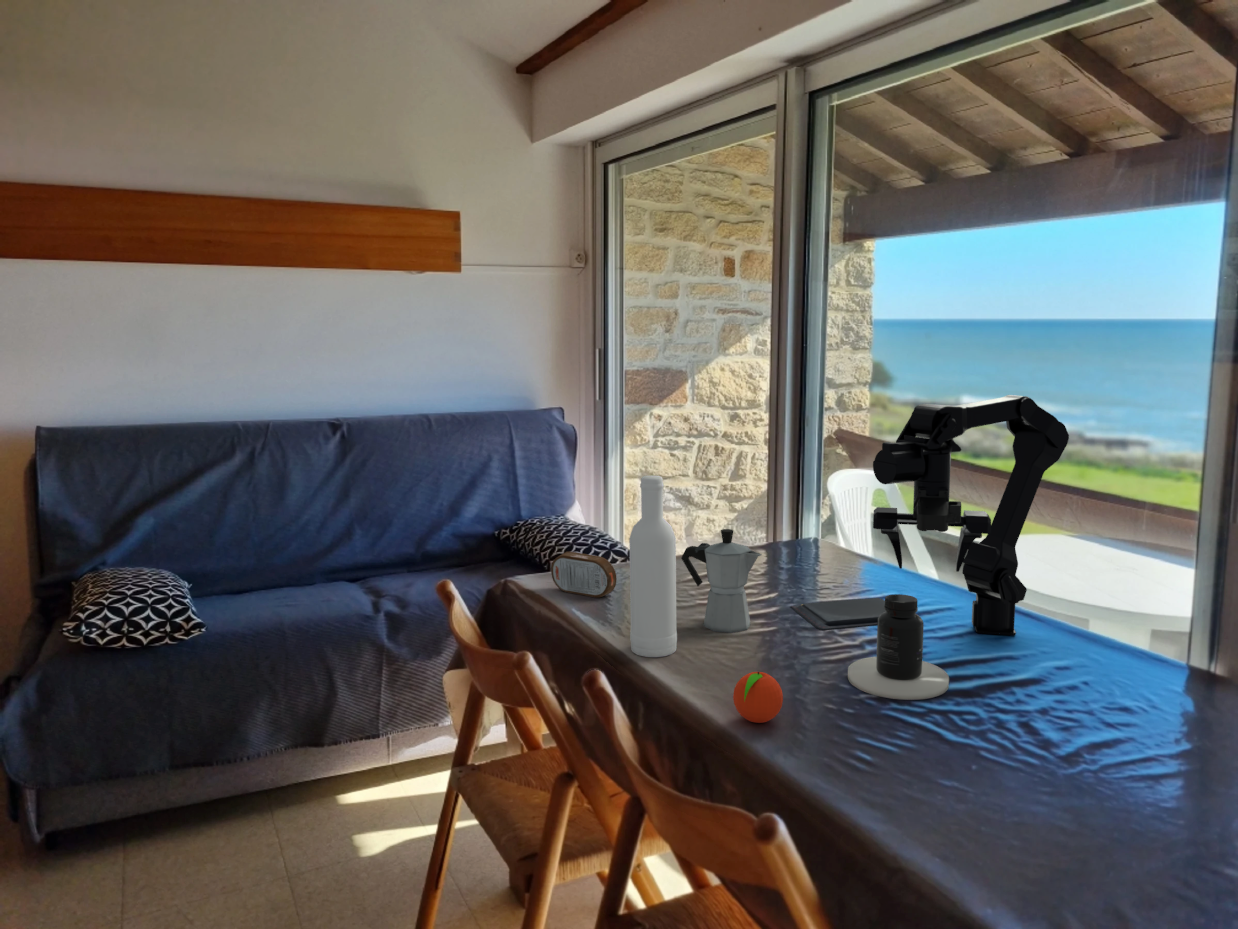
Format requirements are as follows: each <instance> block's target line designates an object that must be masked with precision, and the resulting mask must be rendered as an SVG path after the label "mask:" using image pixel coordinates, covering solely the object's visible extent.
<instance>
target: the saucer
mask: <svg viewBox="0 0 1238 929" xmlns="http://www.w3.org/2000/svg"><path fill="white" fill-rule="evenodd" d="M876 657H877V656H870V657H869V656H868V657H866V658H861V659H858V660H856V661H854V662H852V663H851V664H849V666H848V667H847V679H848V681H849V683H850V684H851V685H852V687H855V688H856V689H858V690H859V691H861V692H865V693H867V694H869V695H872V696H876V697H881V698H887V699H892V700H902V701H903V700H905V701H913V700H914V701H915V700H927V699H932V698H935V697H939V696H941V695H943V694H945V693H946V692H947V691H948V689H949V687H950V686H949V685H950V684H949V683H950V677H949V674H948V673H947V672H946V671H945V669H943V668H941V667H939V666H937V665H935V664H933V663H930V662H928V661H924V660H922V673H921V675H920V676H919V677H918V678H916V679H912V680H896V679H890V678H887V677H884V676H882V675H880V674H879V673H878V671H877V669H876Z"/></svg>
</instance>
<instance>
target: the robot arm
mask: <svg viewBox="0 0 1238 929" xmlns="http://www.w3.org/2000/svg"><path fill="white" fill-rule="evenodd" d="M1004 422H1006V423H1005V424H1006V429H1007V430H1008V431H1009V432H1010V434H1011V435H1012V436H1013V437H1014V439H1013V442H1012V451H1013V457H1014V461H1015V462H1014V465H1013V468H1012V470H1011V472H1010V476H1009V478H1008V481H1007V484H1006V487H1005V489H1004V491H1003V494H1002V497H1001V499H1000V502H999V504H998V507H997V509H996V512H995V514H994V517H993V520H992V519H991V516H990V515H989V514H988V513H987V512H986V511H985V510H967V509H966V510H963V515H962V501H959V500H958V501H957V500H956V501H955V500H954V501H953V500H950V493H951V492H950V491H951V490H950V488H951V487H950V486H951V483H950V482H951V462H952V456H951V455H952V453H959V452H961V451H962V450H963V449H962V447H961V446H960V445H959V444H958V443H956V442H955V440H954V439H955V438H959V437H961V436H962V435H964V433H965V432H966V431H968V430H970V429H972V428H977V427H983V426H989V425H993V424H999V423H1004ZM1069 437H1070V434H1069V433H1068V430H1067V427H1066V426H1065V424H1064V423H1063V422H1062V421H1059V420H1058V419H1057V417H1056V416H1054V415H1053V414H1051V413H1049V412H1048V411H1046V410H1045V409H1043V408H1042V407H1040V406H1039V405H1038V404H1037V403H1036V402H1035V400H1034V399H1032V398H1031V397H1029V396H1026V395H1025V396H1024V395H1014V394H1006V395H1005V396H1002V397H997V398H992V399H991V398H990V399H987V400H986V399H985V400H980V401H976V402H970V403H963V404H958V405H949V404H935V403H920V404H918V405H916V406H915V407H913V411H912V412H911V414H910V417H909V419H908V421H907V422H906V423H905V425H904V427H903V429H902V430H901V432H900V433H899V435H898V437H897V439H896V440H895V442H889V441H887V442H882V444H881V449H880V450H879V451H878V452H877V453H876V455H875V456H874V460H873V461H872V470H873V474H874V477H875V479H877V481H878V482H879V483H880V484H881V485H891V484H902V483H910V482H913V505H912V506H913V508H912V509H913V510H912V513H907V512H905V513H901V512H898V508H897V507H884V506H883V507H882V506H881V507H880V506H878V507H876V508H874V510H873V515H872V518H873V519H872V520H873V521H872V529H875V530H880V533H881V534H883V535H887V537H888V539H889V541H890V544H891V545H892V549H893V551H894V554H895V558H896V561H897V565H898V567H899V569H901V570H902V568H903V555H902V547H901V545H902V544H901V538H900V528H899V525H910V526H911V525H912V526H913V525H914V526H916V529H917V530H918V531H921V532H927V531H934V532H936V531H937V532H939V533H944V532H948V530H949V527H959V528H960V533H959V540H958V546H957V553H956V560H955V572H960V570H961V567H962V565H963V567H962V572H961V573H962V574H963V576H964V580H965V584H966V586H967V590H968V592H970V593H973V594H975V600H973V601H972V606H971V625H972V626H973V627H974V628H975V632H976V633H978V634H989V635H1003V636H1016V634H1017V632H1016V629H1015V619H1016V604H1018V603H1019V602H1021V601H1024V600H1025V598H1026V594H1027V591H1028V589H1027V587H1026V586H1025V584H1023V582H1022V581H1021V580H1020V579H1019V578H1018V577H1017V575H1016V574H1017V571H1018V568H1019V562H1018V561H1019V560H1018V556H1017V551H1016V546H1017V543H1018V541H1019V538H1020V535H1021V532H1022V530H1023V527H1024V524H1025V522H1026V520H1027V517H1028V514H1029V512H1030V509H1031V507H1032V504H1033V501H1034V499H1035V497H1036V494H1037V492H1038V488H1039V486H1040V483H1041V481H1042V478H1043V476H1044V474H1045V472H1046V471H1047V470H1049V469H1050V468H1051V467H1052V466H1053V465H1054V464H1055V463H1057V462H1058V461H1059V460H1060V458H1061V456H1062V455H1063V453H1064V451H1065V449H1066V447H1067V445H1068V442H1069V439H1070V438H1069ZM983 534H984V535H985V534H987V535H986V536H985V537H984V538H983V539H982V540H980V542H975V540H976V539H981V538H982V537H983Z"/></svg>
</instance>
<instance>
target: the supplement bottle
mask: <svg viewBox="0 0 1238 929" xmlns="http://www.w3.org/2000/svg"><path fill="white" fill-rule="evenodd" d="M884 600H885V605H884V609H885V610H886V612H884V613H882V614H881V615H880V616H879V618H878V624H877V629H876V631H877V632H876V633H877V634H876V656H875V657H876V669H877V671H878V673H879V674H880V675H882V676H884V677H887V678H890V679H896V680H912V679H916V678H918V677H919V676H920V675H921V673H922V661H923V654H924V652H923V651H924V621H923V619H922V616H921V617H920V615H918V614H917V612H918V609H919V608H918V598H916V597H915V596H913V595H909V594H898V593H897V594H887V595H886V596H885V598H884Z"/></svg>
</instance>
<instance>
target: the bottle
mask: <svg viewBox="0 0 1238 929" xmlns="http://www.w3.org/2000/svg"><path fill="white" fill-rule="evenodd" d="M663 479H664V478H663V477H662V476H661V475H656V474H655V475H653V474H651V475H644V476H642V477H640V484H639V485H640V486H639V487H640V491H641V492H640V493H641V494H640V496H641V499H640V500H641V505H640V506H641V509H640V511H641V518H640V519H639V520H638V521H637V522H636V523H635V524H634V525H633V527H632V529H631V533H630V536H629V593H630V594H629V595H630V598H629V600H630V601H629V603H630V606H629V607H630V632H629V636H630V637H629V639H630V649H631V652H632V653H633V654H635V655H637V656H640V657H644V658H645V657H646V658H662V657H666V656H671V655H672V654H674V653H675V652H676V651H677V642H678V632H677V546H676V544H677V540H676V534H675V531H674V529H673V526H672V525H671V524H670V523H669V522H668V521H667V520H666V519H665V517H664V486H665V485H664V482H663V481H664V480H663Z"/></svg>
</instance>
